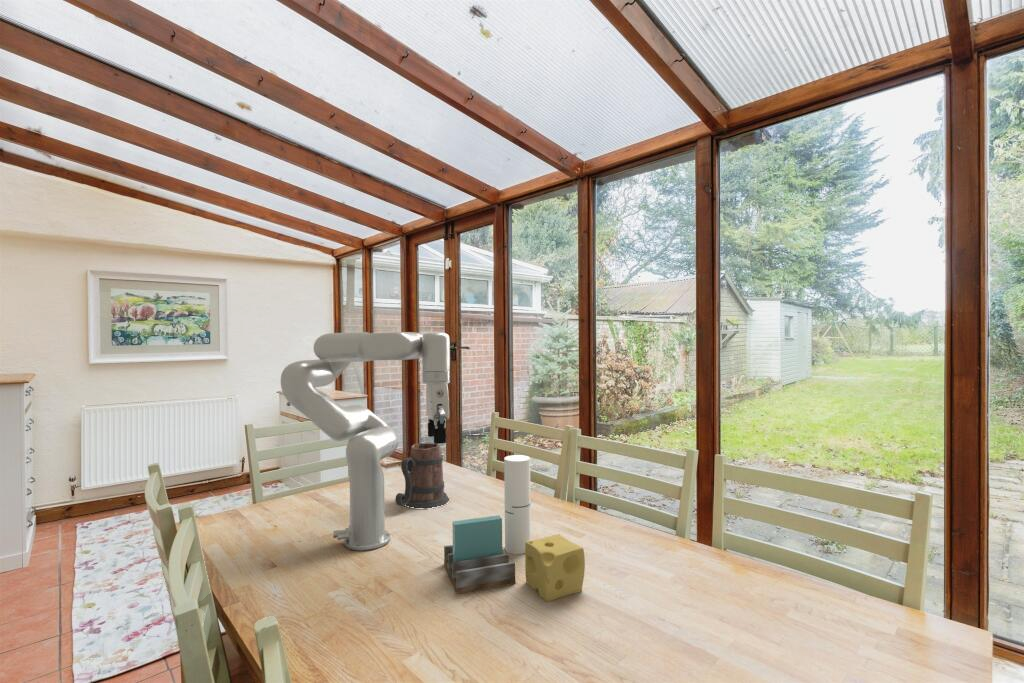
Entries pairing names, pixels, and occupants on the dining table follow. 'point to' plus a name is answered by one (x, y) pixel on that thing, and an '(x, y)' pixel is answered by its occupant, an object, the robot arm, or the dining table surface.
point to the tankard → (423, 478)
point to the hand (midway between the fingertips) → (436, 439)
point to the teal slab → (477, 538)
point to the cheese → (554, 566)
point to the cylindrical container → (517, 503)
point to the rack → (479, 571)
